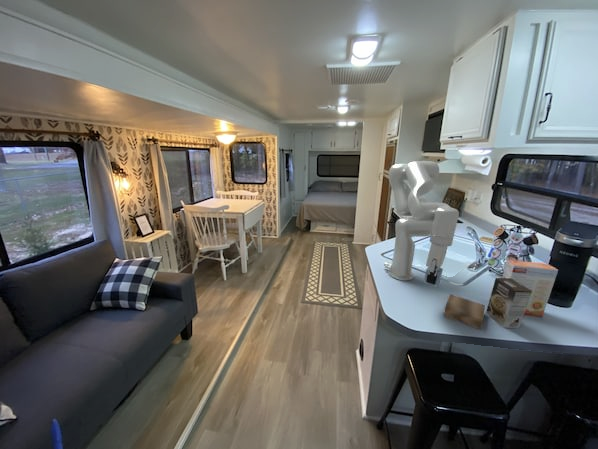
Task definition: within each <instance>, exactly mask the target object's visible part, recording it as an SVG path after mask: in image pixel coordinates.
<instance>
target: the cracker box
mask: <svg viewBox="0 0 598 449" xmlns="http://www.w3.org/2000/svg"><path fill="white" fill-rule="evenodd" d="M558 271H559V269H557V268H556V267H554V266H552V265H551V264H549V263H542V262H534V261H533V262H532V261H524V260H523V261H522V260H512V259H507V260H506V264H505V265H504V270H503V273H502V277H501V278H511V279H513V280H515V281H516V282H518V283H520V284H521V285H523V286H525V287H526V288H528V289H530V290H531V291H532V293H531V296H530V299H529V302H528V304H527V307H526V310H525V313H524V315H530V316H538V317H543V316H544V313H545V310H546V307H547V305H548V302H549V298H550V296H551V293H552V289H553V287H554V284H555V281H556V277H557V275H558V273H559V272H558Z"/></svg>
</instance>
